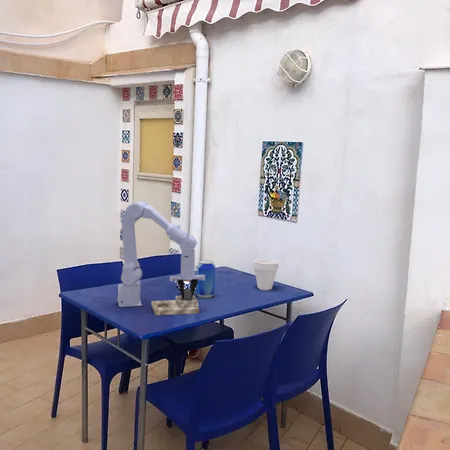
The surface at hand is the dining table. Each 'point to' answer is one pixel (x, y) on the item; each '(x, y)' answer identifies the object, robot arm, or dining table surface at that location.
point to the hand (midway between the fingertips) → (186, 297)
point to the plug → (187, 294)
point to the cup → (265, 272)
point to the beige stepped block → (175, 306)
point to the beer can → (206, 279)
